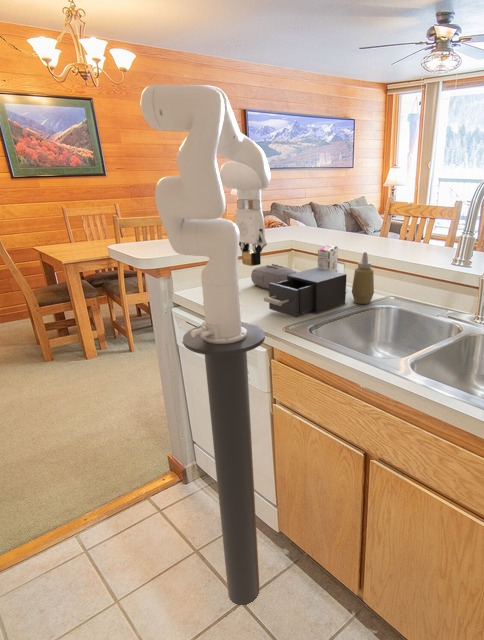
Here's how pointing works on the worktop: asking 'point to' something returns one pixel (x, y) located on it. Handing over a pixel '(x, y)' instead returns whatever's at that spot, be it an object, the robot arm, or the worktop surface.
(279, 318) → the worktop surface
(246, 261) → the block
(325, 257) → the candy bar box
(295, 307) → the grey drawer with handle
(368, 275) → the squeeze bottle
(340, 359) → the worktop surface
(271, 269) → the soft grey pack
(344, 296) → the grey open box
